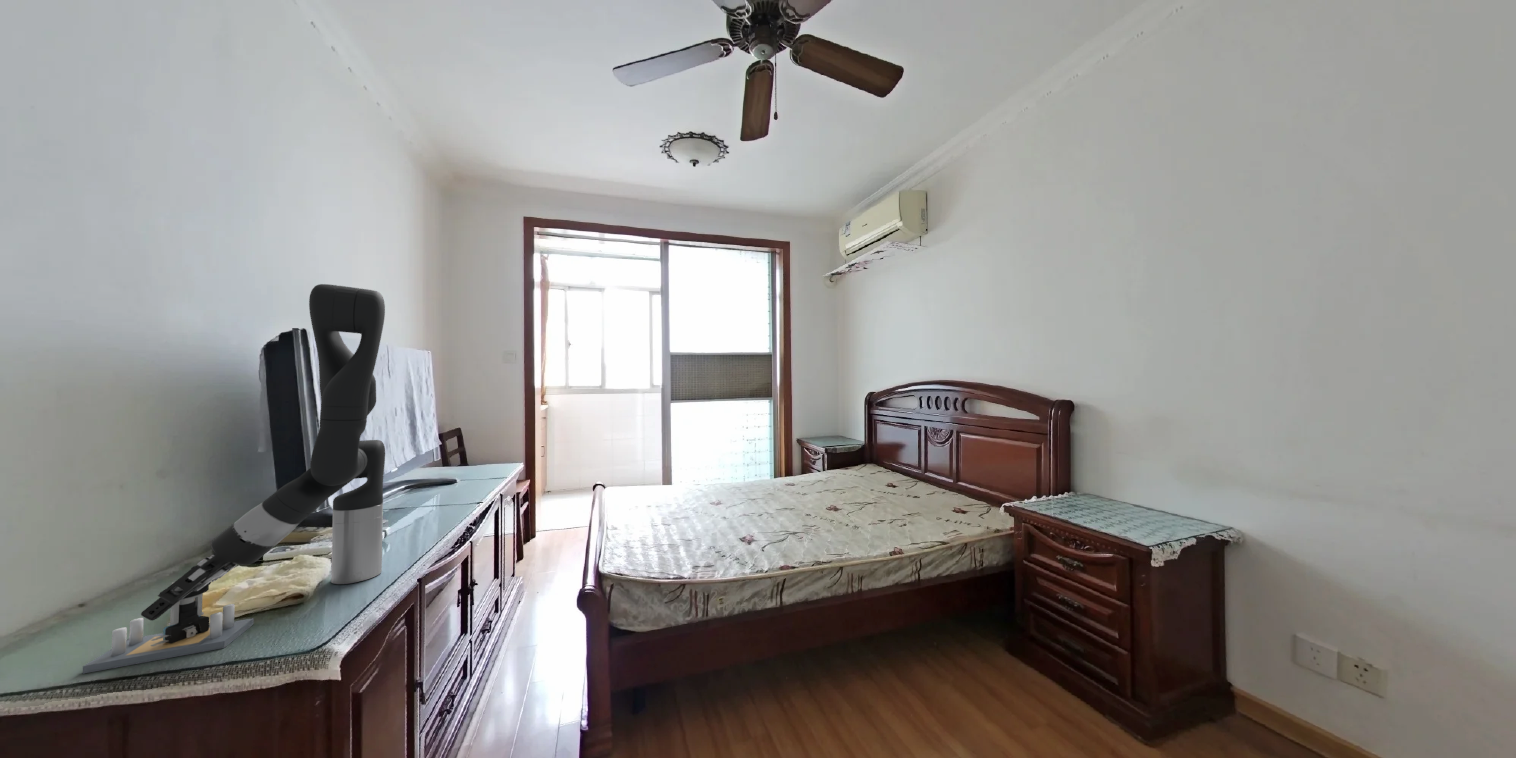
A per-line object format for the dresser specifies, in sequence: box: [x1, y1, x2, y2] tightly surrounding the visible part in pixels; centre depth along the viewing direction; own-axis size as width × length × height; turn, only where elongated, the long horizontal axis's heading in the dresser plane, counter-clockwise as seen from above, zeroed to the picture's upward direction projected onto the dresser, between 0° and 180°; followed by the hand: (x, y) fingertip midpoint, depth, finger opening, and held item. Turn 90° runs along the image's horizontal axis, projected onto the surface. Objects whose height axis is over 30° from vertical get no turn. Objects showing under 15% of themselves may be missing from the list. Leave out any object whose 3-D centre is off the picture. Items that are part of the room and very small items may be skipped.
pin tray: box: [82, 603, 254, 674], centre depth 79 cm, size 9×16×5 cm, turn 116°
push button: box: [151, 581, 212, 646], centre depth 80 cm, size 7×5×10 cm
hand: (166, 606), depth 79 cm, fingers open, 8 cm apart
